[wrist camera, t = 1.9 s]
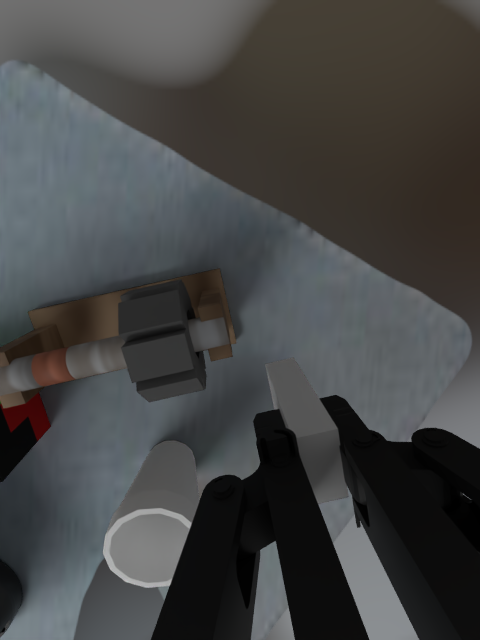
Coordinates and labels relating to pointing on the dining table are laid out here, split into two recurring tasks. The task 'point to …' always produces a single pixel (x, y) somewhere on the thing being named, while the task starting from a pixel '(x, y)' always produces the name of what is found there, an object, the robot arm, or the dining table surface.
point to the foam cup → (154, 517)
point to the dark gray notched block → (160, 341)
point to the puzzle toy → (20, 432)
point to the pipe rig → (101, 338)
